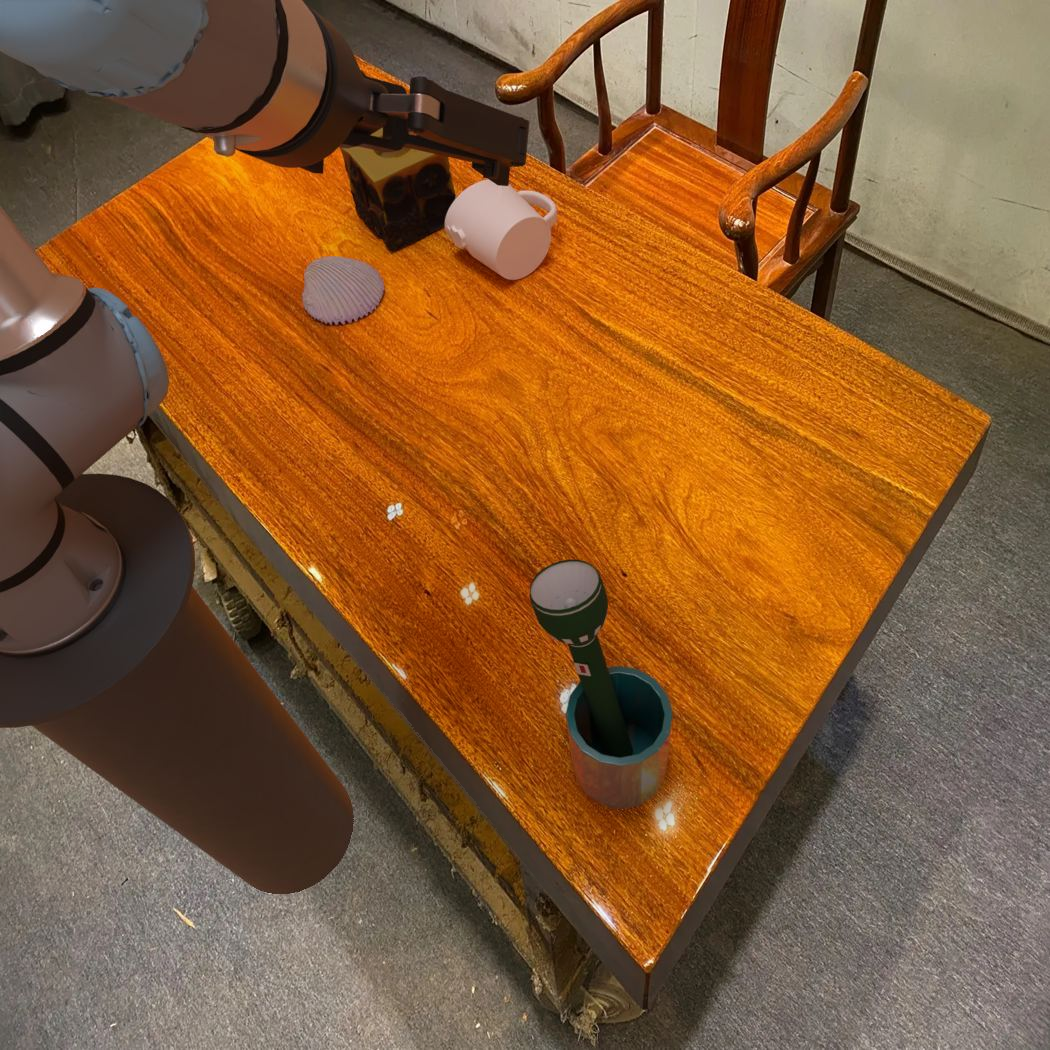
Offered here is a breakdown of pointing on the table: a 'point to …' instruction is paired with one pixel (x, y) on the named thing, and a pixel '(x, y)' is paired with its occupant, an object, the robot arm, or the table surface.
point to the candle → (399, 191)
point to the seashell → (341, 289)
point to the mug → (502, 227)
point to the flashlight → (582, 640)
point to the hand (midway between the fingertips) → (410, 159)
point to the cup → (648, 734)
